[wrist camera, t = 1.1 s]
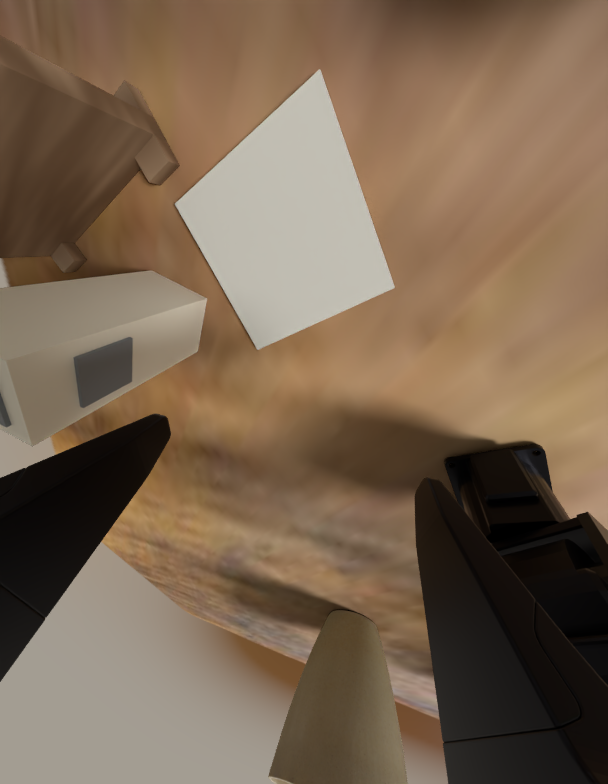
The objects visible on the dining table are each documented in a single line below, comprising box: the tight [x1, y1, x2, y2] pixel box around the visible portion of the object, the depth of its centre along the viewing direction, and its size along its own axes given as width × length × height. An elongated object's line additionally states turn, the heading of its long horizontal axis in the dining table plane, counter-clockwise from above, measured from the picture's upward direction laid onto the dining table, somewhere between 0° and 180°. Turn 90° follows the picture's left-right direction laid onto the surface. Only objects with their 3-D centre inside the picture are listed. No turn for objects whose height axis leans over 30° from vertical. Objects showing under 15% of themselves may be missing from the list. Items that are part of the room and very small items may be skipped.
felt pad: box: [175, 69, 395, 350], centre depth 17 cm, size 11×11×1 cm
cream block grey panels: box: [0, 270, 207, 446], centre depth 17 cm, size 5×5×13 cm
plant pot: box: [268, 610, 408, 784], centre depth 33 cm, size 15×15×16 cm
